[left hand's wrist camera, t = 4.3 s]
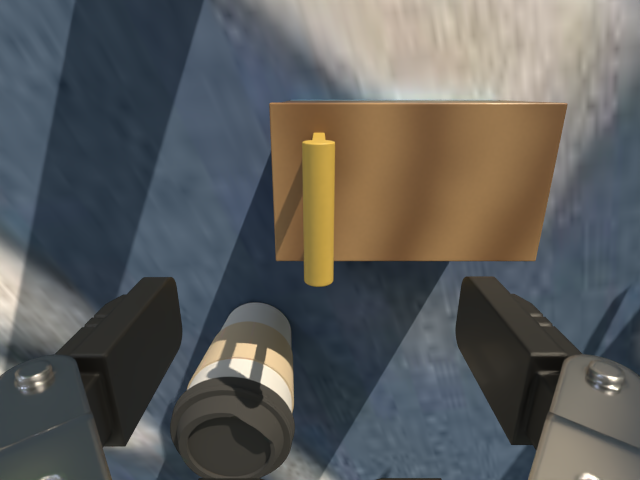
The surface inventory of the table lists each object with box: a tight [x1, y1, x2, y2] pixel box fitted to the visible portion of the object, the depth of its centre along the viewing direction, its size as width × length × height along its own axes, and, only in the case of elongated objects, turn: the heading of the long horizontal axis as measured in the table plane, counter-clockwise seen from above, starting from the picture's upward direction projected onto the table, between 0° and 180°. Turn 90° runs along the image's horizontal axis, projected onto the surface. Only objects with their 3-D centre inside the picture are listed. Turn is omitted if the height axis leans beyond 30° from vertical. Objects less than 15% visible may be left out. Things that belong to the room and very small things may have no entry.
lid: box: [269, 103, 567, 287], centre depth 23 cm, size 18×10×8 cm, turn 90°
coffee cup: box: [170, 303, 295, 478], centre depth 34 cm, size 9×9×15 cm
